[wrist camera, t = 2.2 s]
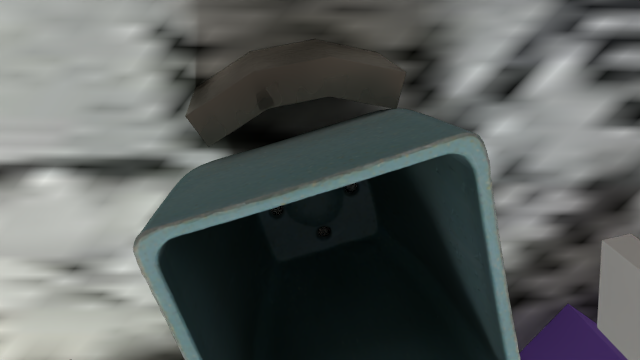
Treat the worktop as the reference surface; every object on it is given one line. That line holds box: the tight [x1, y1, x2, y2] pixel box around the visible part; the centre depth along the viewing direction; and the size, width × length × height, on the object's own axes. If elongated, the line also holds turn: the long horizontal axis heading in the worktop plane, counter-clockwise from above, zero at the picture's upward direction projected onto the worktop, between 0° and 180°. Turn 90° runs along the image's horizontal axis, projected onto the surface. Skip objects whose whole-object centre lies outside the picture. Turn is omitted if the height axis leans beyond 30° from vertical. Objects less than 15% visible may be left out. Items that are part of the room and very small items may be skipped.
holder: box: [186, 39, 406, 147], centre depth 21 cm, size 12×7×4 cm, turn 9°
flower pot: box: [133, 108, 521, 360], centre depth 18 cm, size 9×9×9 cm
